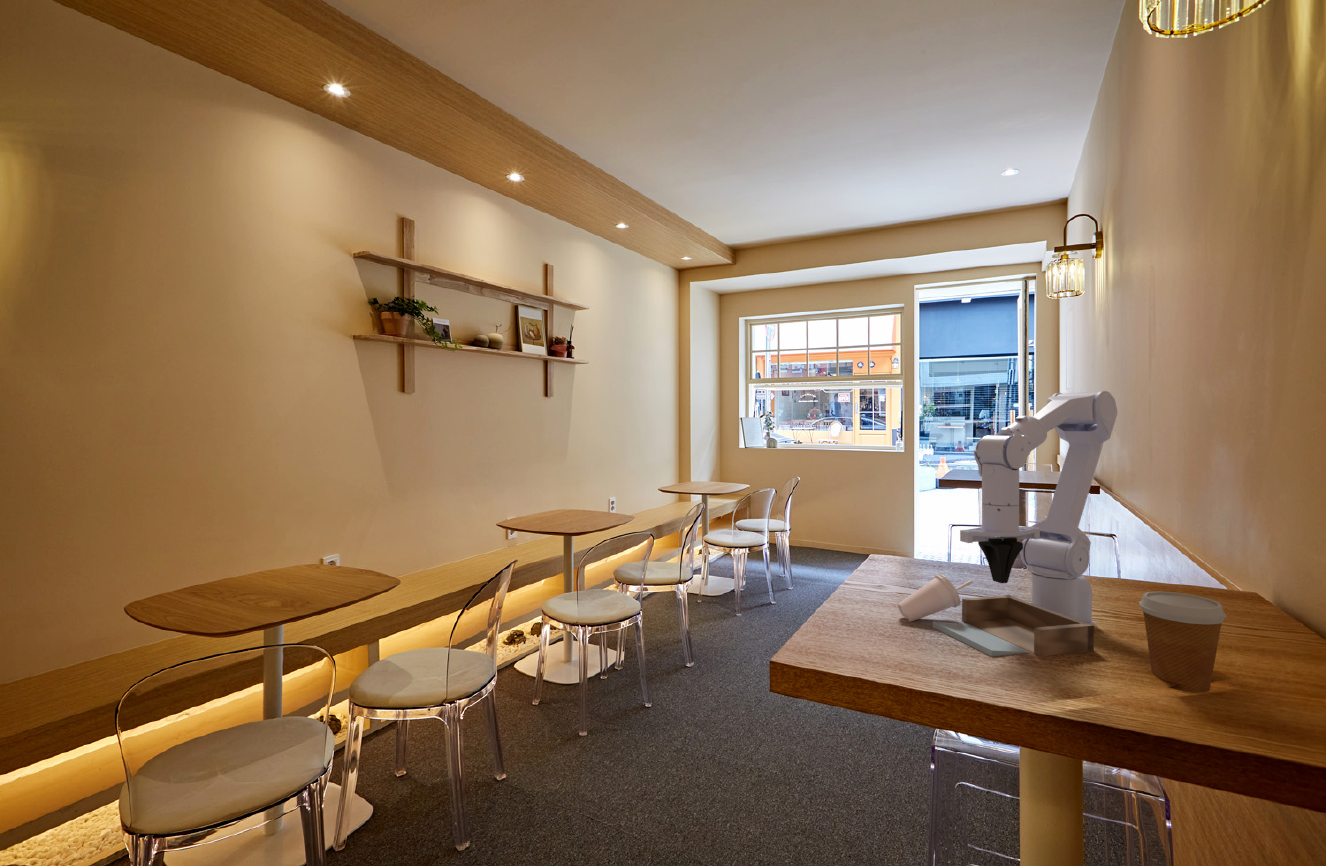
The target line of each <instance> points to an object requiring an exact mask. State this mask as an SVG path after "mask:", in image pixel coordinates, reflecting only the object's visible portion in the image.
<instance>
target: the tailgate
mask: <svg viewBox="0 0 1326 866" xmlns="http://www.w3.org/2000/svg"><path fill="white" fill-rule="evenodd" d="M931 627H932V628H933V629H935V630H938V631H939V632H941V633H944V634H946V635H948V636H949V637H951V638H954V639H955V640H957V641H960V642H962V643H963V644H966V645H967V646H969V647H972V648H974V649H976V650H978V651H980V652H981V653H983V654H985V655H987V656H990V657H1000V656H1009V655H1020V654H1030V653H1031V652H1030V651H1027V650H1025V649H1023V648H1021V647H1019V646H1016V645H1014V644H1012V643H1010V642H1008V641H1005V640H1003V639H1001V638H999V637H997V636H994V635H992V634H990V633H988V632H986V631H983V630H981V629H979V628H977V627H975V626H972V625H970V624H968V623H966V622H964V623H963V622H960V623H959V622H945V621H944V622H943V621H932V626H931Z"/></svg>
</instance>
